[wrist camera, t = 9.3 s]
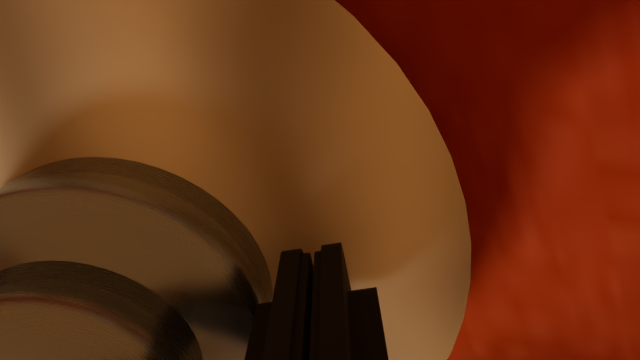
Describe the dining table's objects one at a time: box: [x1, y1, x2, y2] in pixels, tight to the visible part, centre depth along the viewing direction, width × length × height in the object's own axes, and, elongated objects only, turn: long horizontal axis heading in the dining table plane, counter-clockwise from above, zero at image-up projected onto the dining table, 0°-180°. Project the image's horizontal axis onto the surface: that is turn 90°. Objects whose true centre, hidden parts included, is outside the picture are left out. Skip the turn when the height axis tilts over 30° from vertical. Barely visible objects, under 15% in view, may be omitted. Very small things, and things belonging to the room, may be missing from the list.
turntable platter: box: [0, 0, 471, 360], centre depth 14 cm, size 22×22×2 cm
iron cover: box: [0, 157, 273, 360], centre depth 11 cm, size 9×9×5 cm
